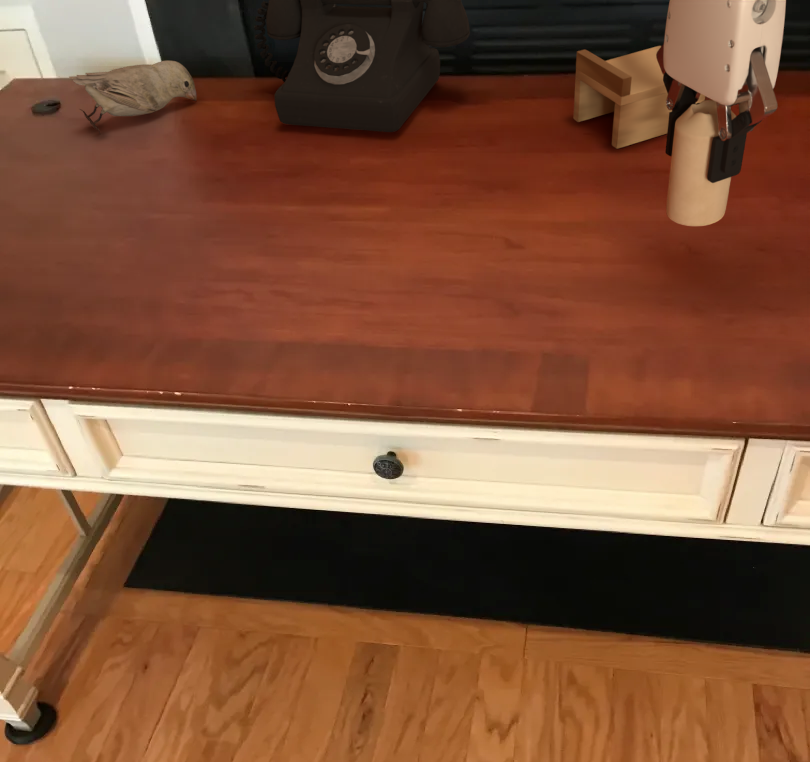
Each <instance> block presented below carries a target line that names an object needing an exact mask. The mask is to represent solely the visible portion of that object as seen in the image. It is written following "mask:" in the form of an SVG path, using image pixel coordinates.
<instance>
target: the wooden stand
mask: <svg viewBox="0 0 810 762" xmlns="http://www.w3.org/2000/svg"><path fill="white" fill-rule="evenodd" d="M661 46H662V45H657V46H654V47H650V48H646V49H643V50H642V49H641V50H639V51H635V52H632V53H629V54H625V55H621V56H618V57H614V58H610V59H607V60H605V59H602V58H601V57H599V56H597V55H596V54H594V53H592V52H591V51H589V50H587V49H581V50H578V51H576V60H575V78H574V99H573V118H572V119H573V120H574V121H576V122H577V123H580V122H583V121H584V122H585V121H588V120H590V119H593V118H597V117H601V116H604V115H607V114H610V113H613V122H612V134H611V135H612V136H611V146H612V147H613V148H615V149H622V148H625V147H628V146H630V145H634V144H637V143H641V142H644V141H647V140H651V139H653V138H656V137H660V136H663V135H667V131H668V121H669V112H672V110H669V109H668V108H667V106H666V99H667V96H668V93H667V90H666V87H665V85H664V82H663V75H664V74H662V71H661V69H660V66H659V64H658V61H657V58H656V54H657V51H658V50H659V49H660V48H661ZM704 100H706V96H704V95H702V94H700V97H699V100H698V101H697V102H696V104H697V103H701V102H702V101H704Z"/></svg>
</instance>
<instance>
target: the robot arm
mask: <svg viewBox="0 0 810 762" xmlns="http://www.w3.org/2000/svg"><path fill="white" fill-rule="evenodd" d="M786 6H787V0H669V3H668V8H667V14H666V21H665V29H664V39H663V44H662V45H660V46H661V48H660V49H659V50H658V51H657V54H656V58H657V61H658V64H659V66H660V69H661V71H662V74H664V75H663V82H664V85H665V87H666V90H667V93H668V96H667V99H666V106H667V108H668V109H669V110H672V112H669V121H668V131H667V134H666V141H665V142H666V143H665V150H664V151H665V154H666V155H667V156H668V157H672V148H673V139H674V130H675V122H676V120H677V119H678V118H679V117H680V116H681V115H682V114H683V113H684V112H685V111H686V110H687V109H688V108H689V107H690V106H691V105H692V104H696V102H697V101H698V100H699V97H700V94H702V95H704V96H705V98H708V99H709V100H714V101H716V105H717V119H718V134H719V136H716V137H713V140H712V145H711V153H710V160H709V167H708V174H707V179H708V181H710V182H711V183H715V182H718V181H721V180H724V179H727V178H730V177H731V178H732V177H735V176H737V175H739V174H740V173H741V171H742V170H741V169H742V166H743V159H744V153H745V149H746V148H745V147H746V141H747V136H748V134H750V133H752V132H753V130H754V129H755V127H756V126H757V125H759V124H760V123H761V122H762V121H763V120H765V119H767V118H768V117H769V116H770V115H772V114H774V113H775V112H776V111H777V110H778V106H779V105H778V100H777V97H776V94H775V90H774V88H775V86H776V81H777V77H778V72H779V66H780V60H781V53H782V46H783V39H784V29H785V28H784V27H785V19H786ZM697 104H699V103H697ZM736 105H738V114H737V115H736V117H735V118H734V119H733V120H732V116H731V111H732V107H733V106H736Z"/></svg>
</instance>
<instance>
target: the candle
mask: <svg viewBox="0 0 810 762" xmlns="http://www.w3.org/2000/svg"><path fill="white" fill-rule="evenodd" d="M731 116H732V120H733V119H734V118H735V117H736V116H737V115H736V114H735V113H734V111H732V110H731ZM716 136H719V134H718V119H717V105H716V101H714V100H712V99H705V100H704V101H702V102H701V103H699V104H692V105H691V106H690V107H689V108H688V109H687V110H686V111H685V112H684V113H683V114H682V115H681V116H680V117H679V118H678V119H677V120H676V122H675V130H674V139H673V148H672V156H671V159H670V166H669V177H668V186H667V195H666V207H665V211H666V216H667V218H668V219H670V220H671V221H672V222H674V223H676V224H678V225H682V226H687V227H704V226H709V225H712V224H715V223H717V222H719V221H720V220H722V219H723V217H724V216H725V213H726V211H727V205H728V199H729V194H730V193H729V192H730V187H731V181H732V177H730V178H727V179H724V180H721V181H718V182H715V183H711V182H710V181H708V179H707V174H708V167H709V160H710V153H711V145H712V140H713V137H716Z"/></svg>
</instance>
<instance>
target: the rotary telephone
mask: <svg viewBox="0 0 810 762" xmlns="http://www.w3.org/2000/svg"><path fill="white" fill-rule="evenodd" d="M424 3H425V4H426V7H425V11H424ZM260 5H261V7H258V8H257V14H258V15H257V16H255V18H254V20H255V22H258V23H261V24H259V25H258V24H256V25H254V26H253V27H254V30H255V31H261V32H260V33H256V34H254V39H255V40H261V41H260V42H258V43H257V44H256V48H257V49H258V50H261V51H260V53H259V55H260V57H261V58H262V59H265V60H264V65H265V66H266V67H269V71H270V73H271V74H275V77H276V78H277V79H278V80H282V82H283V83H282V84H281V85H280V86H278V88H277V89H276V91H275V92H274V95H273V96H274V107H275V110H276V114H277V116H278V120H279V121H280V122H281V123H282V124H283V125H290V126H291V125H292V126H303V127H316V128H329V129H344V130H357V131H370V132H383V133H395V132H397V131H399V130H400V129H401V128H402V126H403V125H404V124H405V123H406V121H407V120H409V117H410V116H411V115H412V114H413V112H414V111H415V110H416V109H417V108H418V106H419V105H420V104H421V102H422V101H423V100H424V98H425V97H426V96H427V94H428V93H429V92H430V91H431V89H433V87H434V86H435V85H436V83H437V82H438V81H439V78H440V76H441V59H440V52H439V50H438V49H437V48H449V47H452V46H457V45H460V44H462V43H463V42H465V41H466V40H468V38H469V37H470V34H471V31H470V29H471V27H470V22H469V19H468V18H469V17H468V15H467V11H466V9H465V7H464V5H463V2H462V0H268V1H265V0H263V1H262V2H261V3H260ZM351 5H352V6H351ZM379 6H381V7H379ZM382 6H384V7H382ZM385 6H389V7H385ZM390 6H391V7H390ZM265 26H266V28H264V27H265ZM266 31H267V32H266ZM266 33H267V36H268V37H269V38H270V39H273V40H276V41H289V40H295V39H299V42H298V46H297V52H296V56H295V57H294V61H293V64H292V67H291V68H290V70H289V72H288V70H285V71H283V72H282V70H283V66H281V65H279V66H278V67H277V68H275V67H276V65H278V61H277V60H271V59H272V58H273V56H274V55H273V54H272V53H271V52H269V50H270V47H269V45H268V44H266V42H267V37H266V36H265V35H266ZM281 72H282V74H280V73H281Z"/></svg>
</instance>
